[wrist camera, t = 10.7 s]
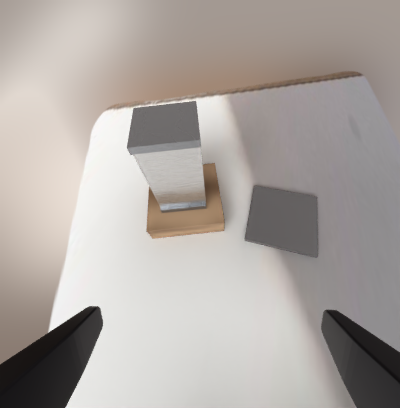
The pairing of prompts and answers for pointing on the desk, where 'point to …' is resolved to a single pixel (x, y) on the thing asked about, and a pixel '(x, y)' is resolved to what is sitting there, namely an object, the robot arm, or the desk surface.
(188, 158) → the block
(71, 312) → the desk surface
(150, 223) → the stand
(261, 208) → the pad
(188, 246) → the desk surface
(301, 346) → the desk surface
